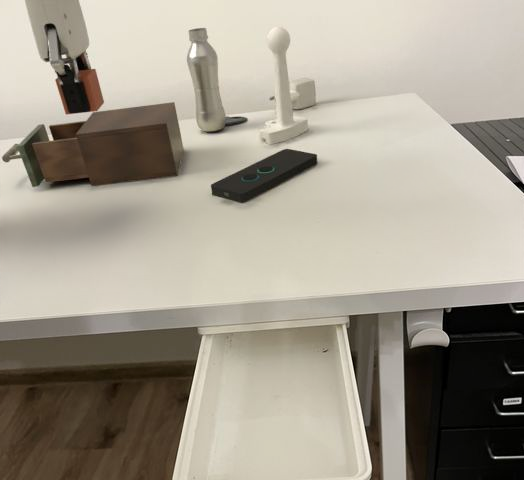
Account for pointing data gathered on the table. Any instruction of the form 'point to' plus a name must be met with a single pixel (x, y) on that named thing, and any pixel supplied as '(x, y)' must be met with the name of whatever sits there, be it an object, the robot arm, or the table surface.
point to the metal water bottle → (205, 81)
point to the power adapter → (301, 93)
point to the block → (87, 90)
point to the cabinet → (131, 144)
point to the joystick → (282, 94)
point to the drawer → (51, 154)
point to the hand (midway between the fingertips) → (84, 105)
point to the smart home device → (263, 175)
